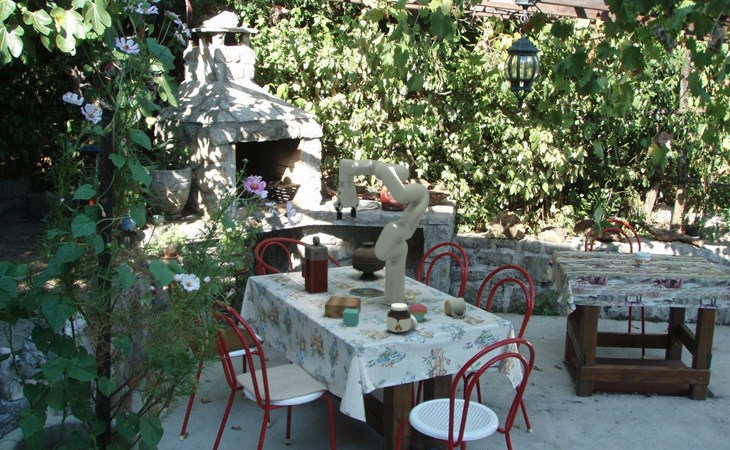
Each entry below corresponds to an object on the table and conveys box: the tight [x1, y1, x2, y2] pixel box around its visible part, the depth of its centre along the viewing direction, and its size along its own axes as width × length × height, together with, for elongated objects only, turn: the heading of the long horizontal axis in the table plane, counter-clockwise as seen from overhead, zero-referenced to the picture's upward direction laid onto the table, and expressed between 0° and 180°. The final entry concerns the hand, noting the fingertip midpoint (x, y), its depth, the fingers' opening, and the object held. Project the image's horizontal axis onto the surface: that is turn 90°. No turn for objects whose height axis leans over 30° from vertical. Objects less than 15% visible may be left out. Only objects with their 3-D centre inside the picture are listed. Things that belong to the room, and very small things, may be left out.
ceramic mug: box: [444, 297, 467, 319], centre depth 352 cm, size 11×8×8 cm
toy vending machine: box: [301, 235, 329, 295], centre depth 388 cm, size 9×11×28 cm
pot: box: [351, 241, 386, 282], centre depth 415 cm, size 18×18×20 cm
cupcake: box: [407, 294, 428, 322], centre depth 345 cm, size 9×8×12 cm
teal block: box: [342, 309, 360, 327], centre depth 338 cm, size 6×6×6 cm
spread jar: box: [386, 303, 419, 335], centre depth 329 cm, size 12×11×12 cm
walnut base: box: [324, 295, 362, 320], centre depth 353 cm, size 14×14×6 cm
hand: (346, 218), depth 387 cm, fingers open, 9 cm apart
